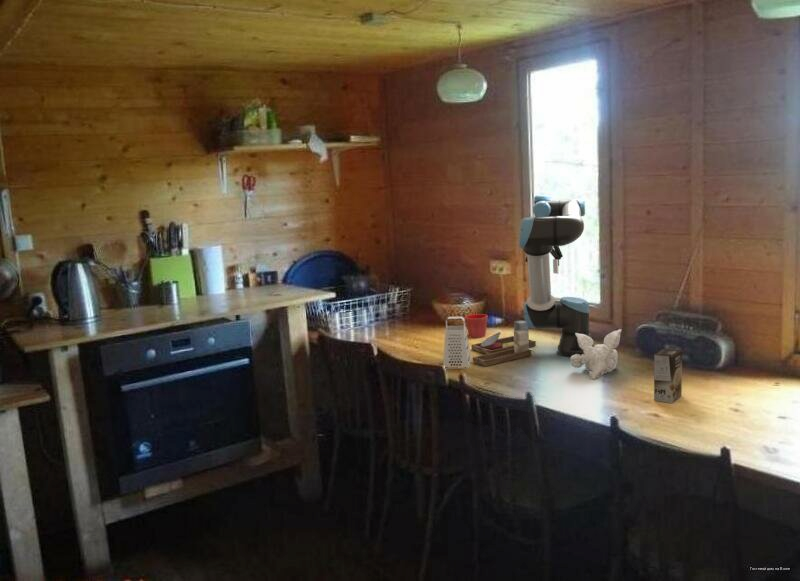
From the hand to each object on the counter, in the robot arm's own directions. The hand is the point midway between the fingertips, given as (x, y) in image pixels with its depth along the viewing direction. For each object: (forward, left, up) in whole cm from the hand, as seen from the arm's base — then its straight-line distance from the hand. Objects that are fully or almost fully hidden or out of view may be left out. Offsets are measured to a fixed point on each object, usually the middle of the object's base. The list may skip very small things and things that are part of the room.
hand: (544, 275), depth 333 cm
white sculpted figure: (-56, +24, -29) cm, 67 cm away
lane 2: (-18, +40, -29) cm, 52 cm away
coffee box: (-93, +28, -29) cm, 101 cm away
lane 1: (-4, +28, -29) cm, 40 cm away
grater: (-11, +58, -29) cm, 66 cm away
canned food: (-3, +34, -29) cm, 45 cm away
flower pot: (+23, +23, -29) cm, 44 cm away
